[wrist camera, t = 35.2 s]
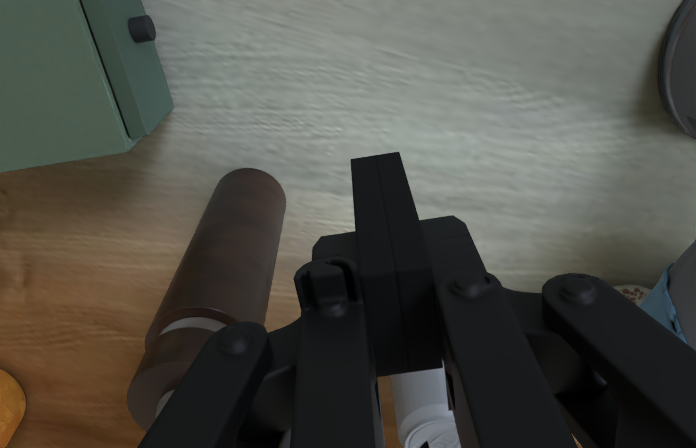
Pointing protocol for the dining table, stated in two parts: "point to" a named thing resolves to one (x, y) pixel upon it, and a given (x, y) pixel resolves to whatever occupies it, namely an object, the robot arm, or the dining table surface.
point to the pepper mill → (212, 285)
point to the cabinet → (53, 88)
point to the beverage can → (423, 410)
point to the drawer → (130, 62)
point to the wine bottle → (10, 407)
